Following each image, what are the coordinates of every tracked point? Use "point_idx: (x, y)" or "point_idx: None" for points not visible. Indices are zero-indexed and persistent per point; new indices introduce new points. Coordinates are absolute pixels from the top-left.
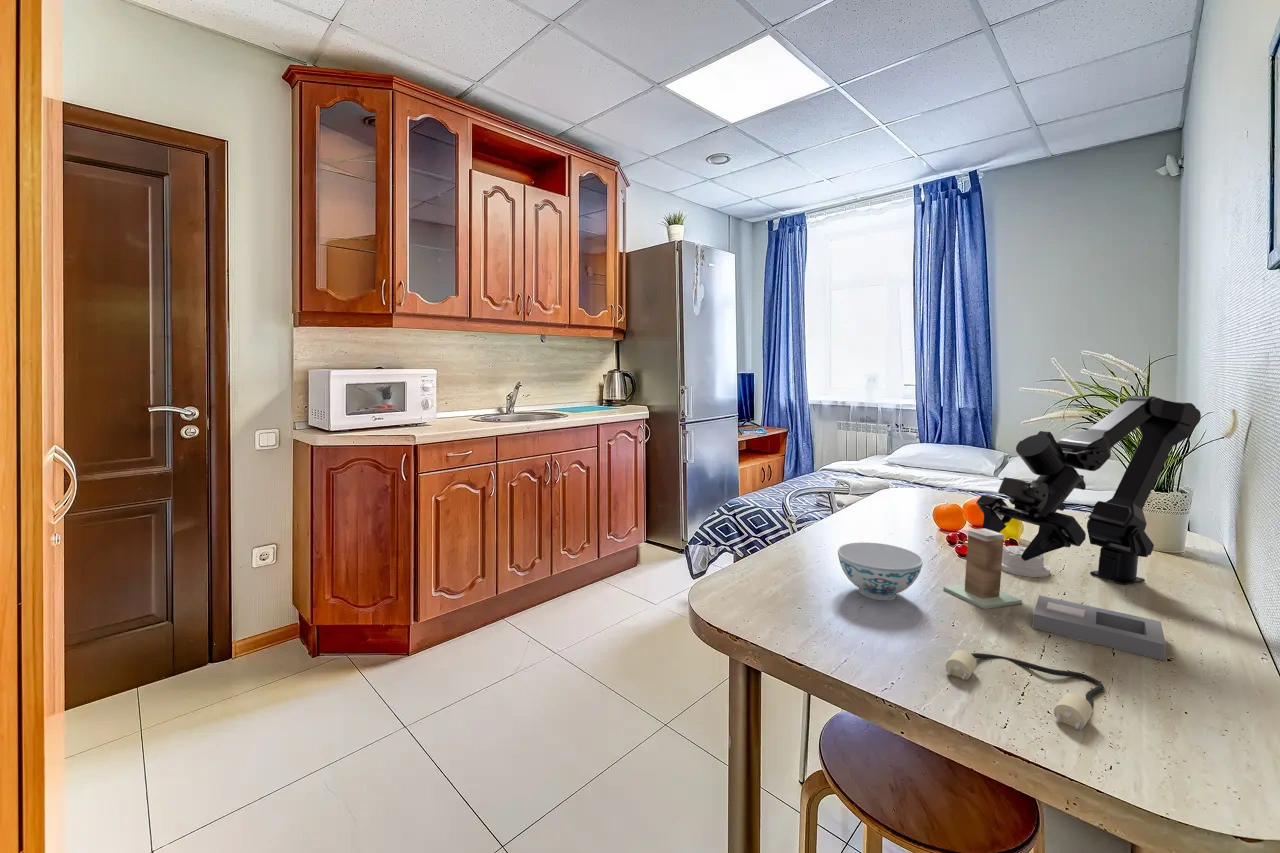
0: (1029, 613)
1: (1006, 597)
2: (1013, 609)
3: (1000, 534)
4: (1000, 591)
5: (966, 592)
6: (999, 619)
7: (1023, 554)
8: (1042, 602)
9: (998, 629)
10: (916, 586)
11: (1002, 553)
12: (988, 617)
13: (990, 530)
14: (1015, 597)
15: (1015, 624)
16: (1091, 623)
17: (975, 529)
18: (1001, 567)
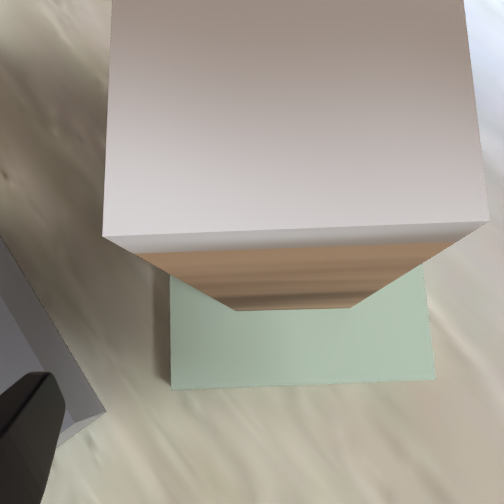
0: (80, 317)
1: (215, 336)
2: (133, 282)
3: (117, 179)
4: (289, 377)
5: None
6: (78, 138)
7: (19, 387)
8: (2, 343)
9: (17, 66)
10: (470, 43)
11: (181, 280)
12: (105, 110)
13: (350, 205)
14: (203, 384)
15: (25, 163)
16: None
17: (459, 12)
18: (208, 295)
